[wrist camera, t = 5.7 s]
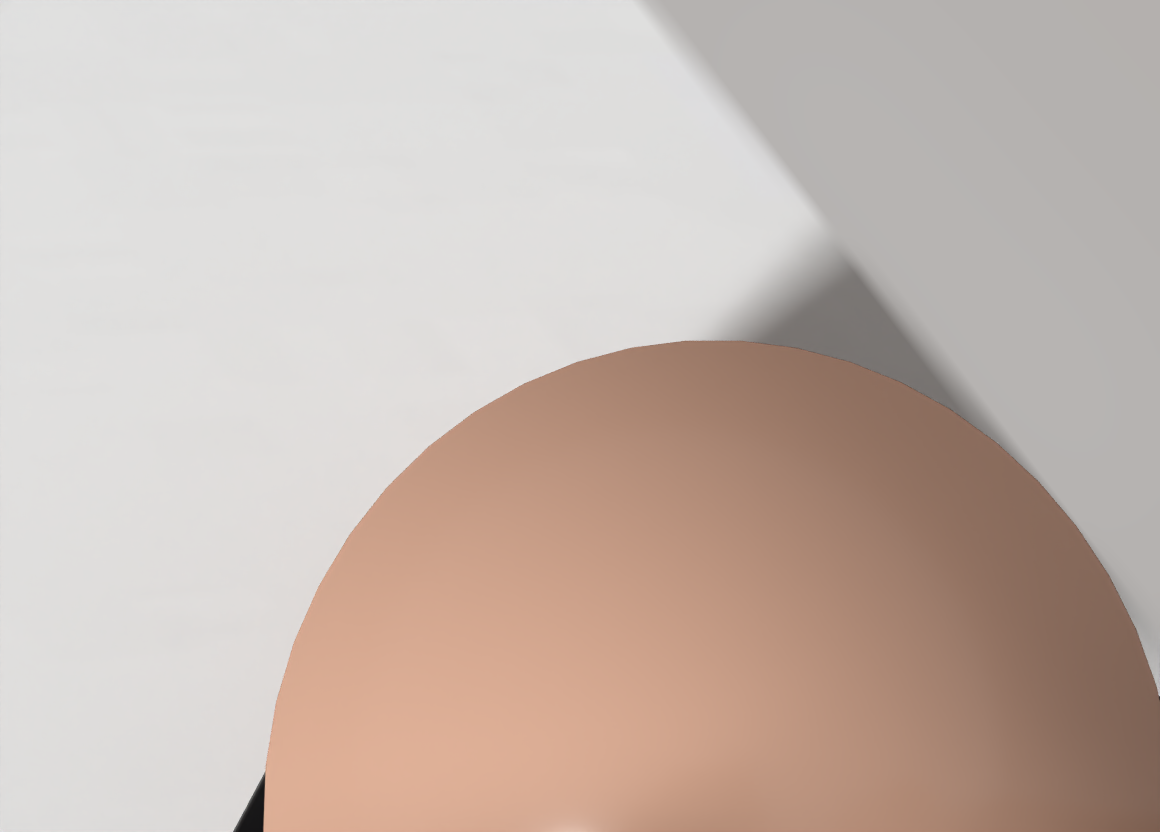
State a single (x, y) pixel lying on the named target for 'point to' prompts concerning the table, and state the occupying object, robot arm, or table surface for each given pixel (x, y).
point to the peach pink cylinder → (715, 622)
